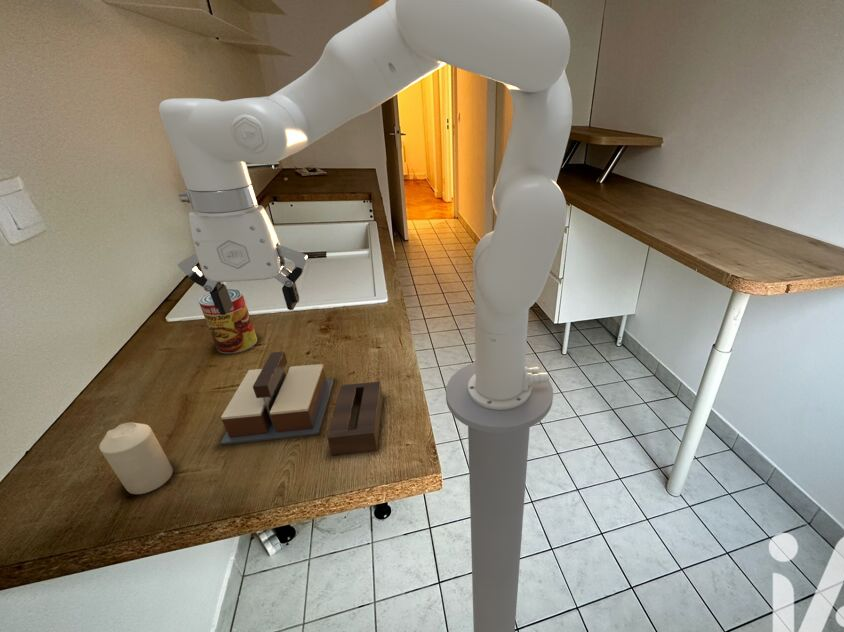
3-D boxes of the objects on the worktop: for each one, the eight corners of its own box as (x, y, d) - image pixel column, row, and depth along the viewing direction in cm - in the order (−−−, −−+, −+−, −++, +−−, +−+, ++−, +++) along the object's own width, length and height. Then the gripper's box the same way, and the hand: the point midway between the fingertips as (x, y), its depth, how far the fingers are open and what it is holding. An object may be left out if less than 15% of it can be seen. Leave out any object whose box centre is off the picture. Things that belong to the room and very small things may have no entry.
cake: (334, 381, 83) (329, 360, 80) (318, 434, 70) (312, 412, 68) (252, 388, 80) (244, 367, 77) (221, 445, 67) (211, 422, 65)
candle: (161, 491, 59) (132, 442, 54) (117, 497, 58) (83, 447, 53) (180, 462, 64) (154, 413, 59) (139, 467, 63) (110, 418, 58)
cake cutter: (283, 391, 79) (271, 352, 74) (295, 389, 79) (284, 351, 75) (267, 427, 70) (252, 386, 66) (281, 426, 71) (267, 385, 66)
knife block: (344, 401, 78) (340, 384, 76) (383, 397, 79) (380, 381, 77) (332, 455, 66) (327, 437, 64) (377, 450, 68) (373, 432, 66)
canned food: (208, 352, 90) (189, 303, 84) (232, 333, 97) (215, 287, 91) (243, 354, 90) (226, 305, 84) (264, 336, 96) (250, 289, 91)
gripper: (138, 208, 52) (188, 324, 61) (284, 204, 55) (313, 315, 64) (168, 195, 59) (210, 302, 67) (298, 192, 62) (322, 294, 70)
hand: (260, 308), depth 66 cm, fingers open, 9 cm apart
